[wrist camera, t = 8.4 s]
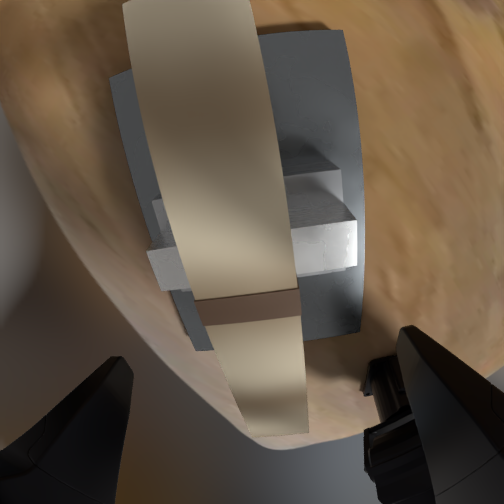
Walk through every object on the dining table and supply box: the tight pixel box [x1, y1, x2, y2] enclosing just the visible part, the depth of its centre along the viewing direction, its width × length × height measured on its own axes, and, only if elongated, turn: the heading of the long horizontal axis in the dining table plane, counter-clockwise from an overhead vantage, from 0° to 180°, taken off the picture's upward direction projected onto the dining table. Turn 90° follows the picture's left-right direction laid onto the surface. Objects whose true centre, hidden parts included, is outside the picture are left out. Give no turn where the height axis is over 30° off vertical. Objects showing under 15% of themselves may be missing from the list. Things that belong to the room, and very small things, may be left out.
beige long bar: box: [122, 0, 309, 437], centre depth 12 cm, size 22×4×4 cm, turn 10°
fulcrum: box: [109, 30, 365, 351], centre depth 16 cm, size 22×14×6 cm, turn 10°
